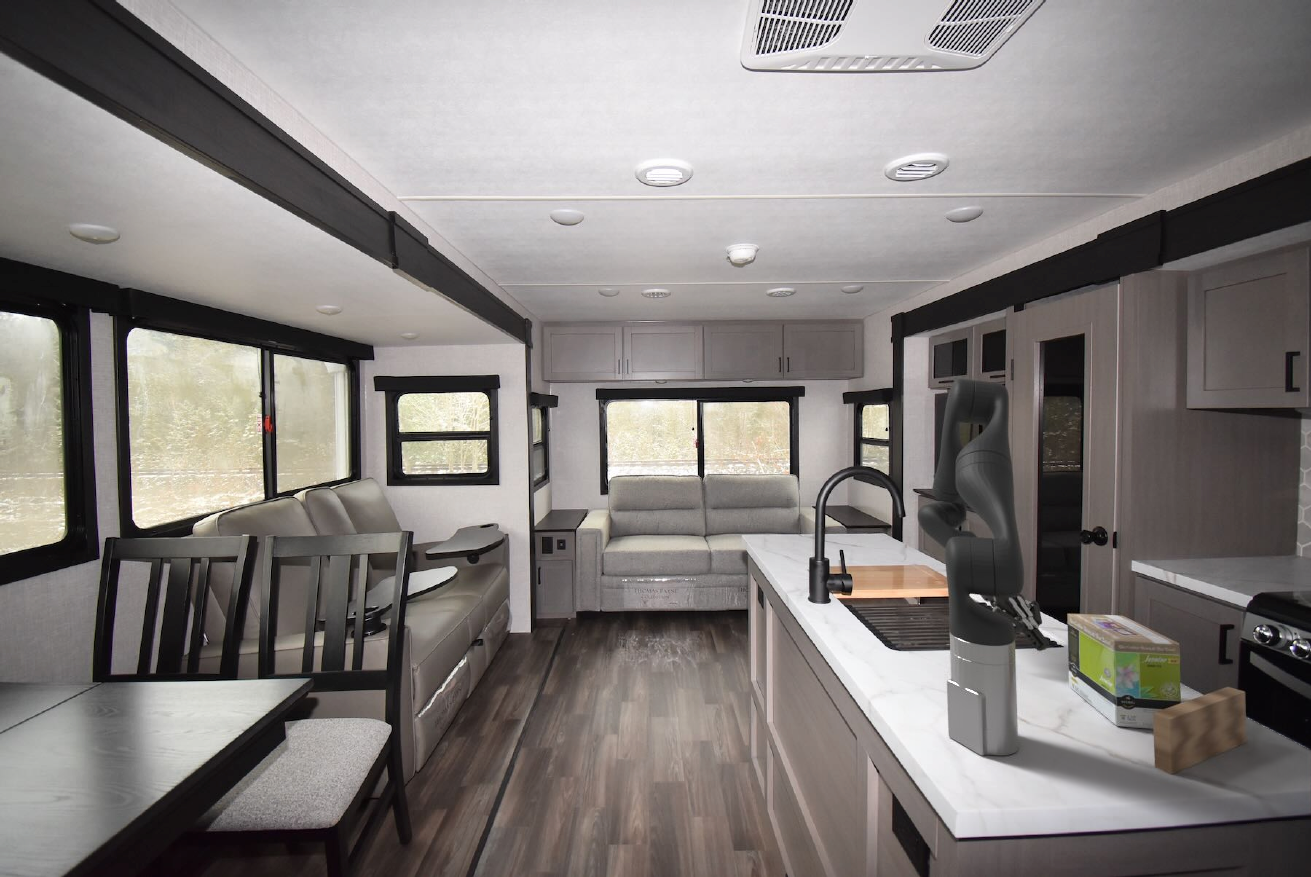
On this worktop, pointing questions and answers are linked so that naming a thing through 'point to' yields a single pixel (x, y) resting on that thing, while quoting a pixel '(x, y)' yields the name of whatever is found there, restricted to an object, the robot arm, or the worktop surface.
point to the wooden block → (1199, 729)
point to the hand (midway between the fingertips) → (1044, 648)
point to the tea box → (1122, 668)
